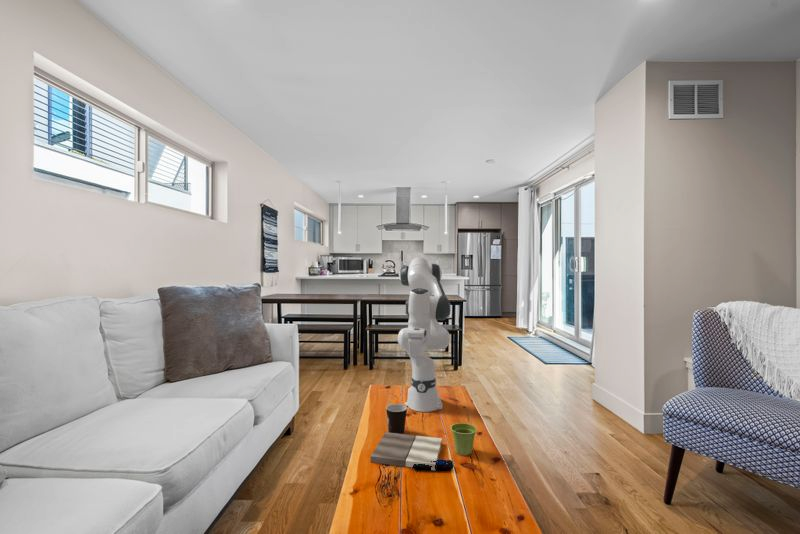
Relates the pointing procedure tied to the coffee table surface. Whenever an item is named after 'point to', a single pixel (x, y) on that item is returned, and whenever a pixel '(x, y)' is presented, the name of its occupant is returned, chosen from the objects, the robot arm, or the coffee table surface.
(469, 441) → the plant pot
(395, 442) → the grey brown flat block
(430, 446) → the ash plank
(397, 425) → the coffee mug
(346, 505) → the coffee table surface
